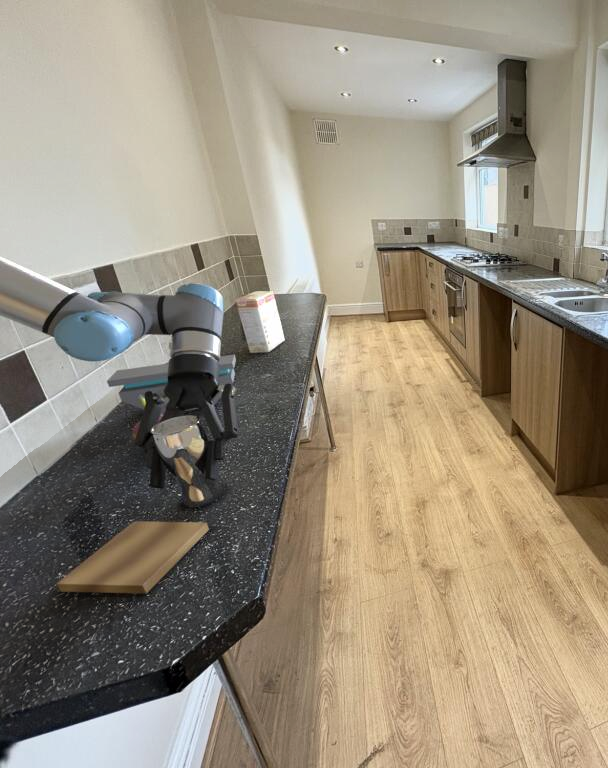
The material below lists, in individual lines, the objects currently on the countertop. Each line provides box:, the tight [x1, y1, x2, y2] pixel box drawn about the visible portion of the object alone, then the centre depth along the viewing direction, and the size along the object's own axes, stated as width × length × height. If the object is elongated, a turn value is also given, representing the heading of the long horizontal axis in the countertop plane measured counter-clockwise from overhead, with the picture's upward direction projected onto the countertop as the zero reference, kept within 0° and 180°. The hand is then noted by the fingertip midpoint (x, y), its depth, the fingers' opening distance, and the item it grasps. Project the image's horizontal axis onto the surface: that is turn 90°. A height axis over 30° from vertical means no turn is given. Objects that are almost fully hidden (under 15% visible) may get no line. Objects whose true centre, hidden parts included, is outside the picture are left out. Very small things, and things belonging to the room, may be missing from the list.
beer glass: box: [151, 414, 225, 509], centre depth 71 cm, size 7×7×15 cm
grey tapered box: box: [106, 354, 237, 414], centre depth 106 cm, size 25×8×11 cm, turn 118°
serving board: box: [56, 520, 210, 594], centre depth 61 cm, size 12×12×2 cm
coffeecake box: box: [234, 290, 286, 354], centre depth 151 cm, size 15×7×20 cm, turn 6°
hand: (184, 483), depth 69 cm, fingers open, 7 cm apart
